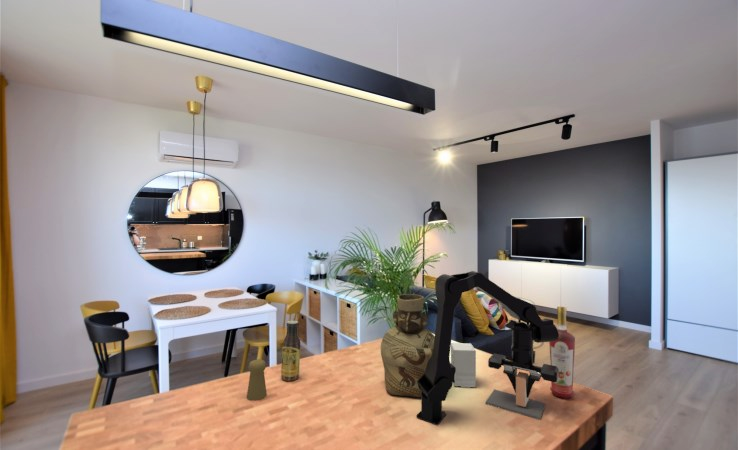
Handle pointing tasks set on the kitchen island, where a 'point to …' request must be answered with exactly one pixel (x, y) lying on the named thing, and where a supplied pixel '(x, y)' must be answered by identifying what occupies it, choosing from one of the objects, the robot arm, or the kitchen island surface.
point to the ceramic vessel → (407, 347)
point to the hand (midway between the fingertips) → (522, 395)
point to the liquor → (563, 357)
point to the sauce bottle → (291, 353)
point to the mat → (509, 403)
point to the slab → (521, 389)
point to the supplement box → (464, 364)
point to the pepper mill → (256, 380)
